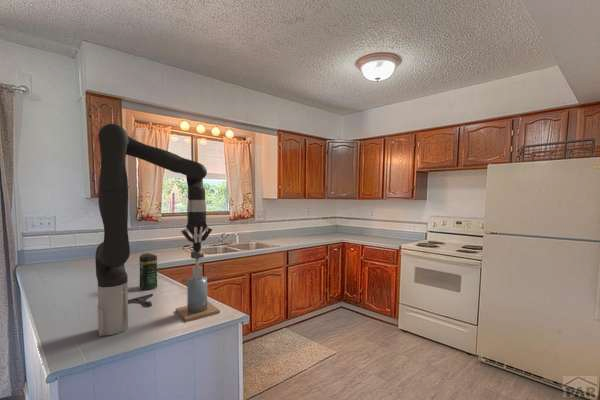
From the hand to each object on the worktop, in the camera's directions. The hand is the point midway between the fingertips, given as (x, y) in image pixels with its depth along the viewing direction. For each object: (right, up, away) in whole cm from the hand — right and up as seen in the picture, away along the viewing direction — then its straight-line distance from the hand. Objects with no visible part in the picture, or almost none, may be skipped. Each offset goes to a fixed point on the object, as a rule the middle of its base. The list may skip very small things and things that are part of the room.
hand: (197, 251), depth 123 cm
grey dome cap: (+1, -8, -1) cm, 8 cm away
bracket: (-29, -27, +11) cm, 41 cm away
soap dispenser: (0, -26, 0) cm, 26 cm away
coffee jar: (-38, -26, +33) cm, 57 cm away
